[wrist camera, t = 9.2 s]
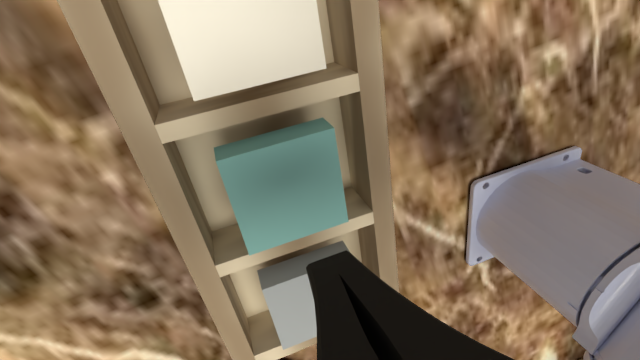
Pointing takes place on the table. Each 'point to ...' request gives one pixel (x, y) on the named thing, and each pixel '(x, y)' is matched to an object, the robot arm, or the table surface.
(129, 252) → the table surface
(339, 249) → the slate key
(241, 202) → the teal key
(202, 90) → the ivory key
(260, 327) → the key box
